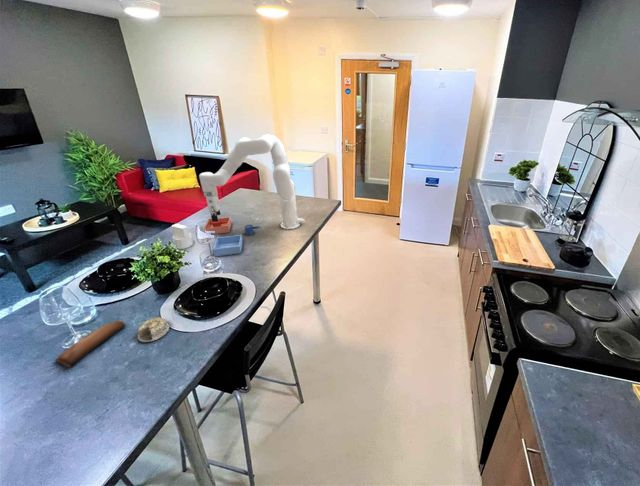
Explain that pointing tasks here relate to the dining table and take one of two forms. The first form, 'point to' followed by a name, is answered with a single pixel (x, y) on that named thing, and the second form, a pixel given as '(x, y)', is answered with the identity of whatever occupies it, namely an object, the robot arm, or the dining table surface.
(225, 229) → the red bin
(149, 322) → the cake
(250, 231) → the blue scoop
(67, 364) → the sunglasses case
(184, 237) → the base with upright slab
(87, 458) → the dining table surface
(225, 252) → the blue bin
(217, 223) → the red scoop
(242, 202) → the dining table surface
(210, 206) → the robot arm
